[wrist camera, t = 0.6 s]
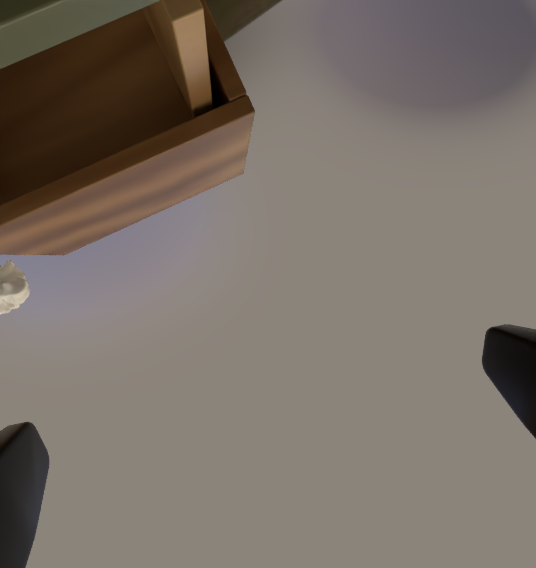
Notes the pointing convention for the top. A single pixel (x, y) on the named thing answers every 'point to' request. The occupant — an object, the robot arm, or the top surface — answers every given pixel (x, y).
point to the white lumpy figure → (12, 287)
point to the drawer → (93, 81)
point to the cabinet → (138, 172)
